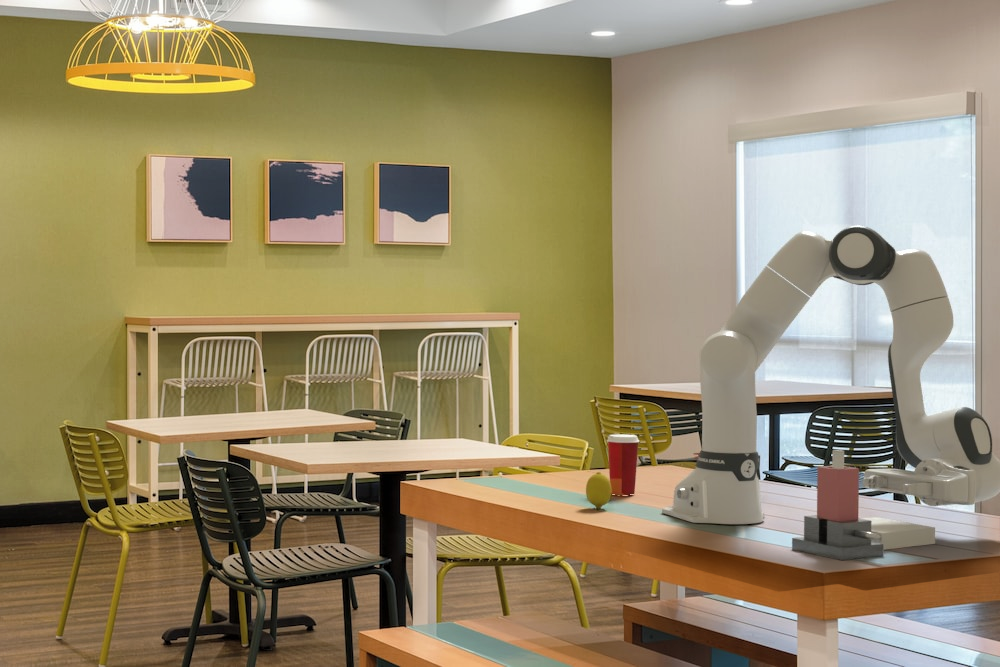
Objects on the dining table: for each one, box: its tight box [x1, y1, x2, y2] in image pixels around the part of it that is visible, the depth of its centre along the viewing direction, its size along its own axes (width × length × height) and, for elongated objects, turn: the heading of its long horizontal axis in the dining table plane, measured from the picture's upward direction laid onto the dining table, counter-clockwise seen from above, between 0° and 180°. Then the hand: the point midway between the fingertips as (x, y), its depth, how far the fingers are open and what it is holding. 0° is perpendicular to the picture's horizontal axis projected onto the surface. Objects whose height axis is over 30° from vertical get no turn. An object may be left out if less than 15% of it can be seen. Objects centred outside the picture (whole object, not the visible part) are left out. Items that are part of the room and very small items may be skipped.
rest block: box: [861, 516, 936, 551], centre depth 230 cm, size 14×14×3 cm
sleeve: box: [816, 465, 860, 521], centre depth 218 cm, size 5×5×9 cm
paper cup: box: [606, 433, 640, 495], centre depth 290 cm, size 8×8×14 cm
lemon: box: [585, 471, 612, 510], centre depth 267 cm, size 6×6×8 cm
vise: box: [791, 449, 884, 561], centre depth 216 cm, size 16×10×18 cm, turn 30°
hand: (885, 486), depth 224 cm, fingers open, 8 cm apart
